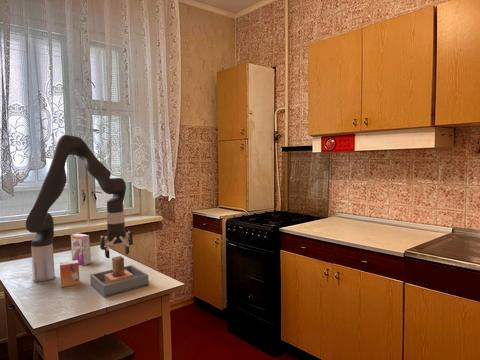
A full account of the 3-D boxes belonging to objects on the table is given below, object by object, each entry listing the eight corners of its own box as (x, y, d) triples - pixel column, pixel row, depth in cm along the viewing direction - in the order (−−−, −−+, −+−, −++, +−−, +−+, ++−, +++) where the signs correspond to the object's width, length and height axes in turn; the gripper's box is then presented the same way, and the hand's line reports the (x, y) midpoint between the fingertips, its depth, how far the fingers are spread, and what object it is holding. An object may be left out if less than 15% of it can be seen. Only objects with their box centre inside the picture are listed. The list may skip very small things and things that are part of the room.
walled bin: (104, 297, 146) (103, 286, 145) (90, 284, 161) (90, 274, 161) (148, 285, 158) (148, 274, 158) (132, 274, 174) (131, 264, 173)
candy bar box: (71, 263, 197) (70, 234, 196) (79, 260, 201) (78, 233, 200) (83, 265, 191) (81, 236, 190) (91, 263, 195) (89, 234, 194)
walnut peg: (116, 285, 157) (115, 259, 156) (113, 283, 160) (111, 257, 159) (125, 283, 159) (123, 257, 158) (121, 280, 162) (120, 255, 161)
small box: (60, 287, 159) (59, 265, 158) (60, 284, 164) (59, 262, 163) (80, 284, 162) (78, 262, 162) (79, 280, 167) (78, 259, 167)
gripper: (128, 218, 165) (129, 251, 166) (97, 222, 156) (99, 257, 157) (134, 220, 159) (135, 255, 160) (102, 224, 150) (104, 261, 151)
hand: (117, 256), depth 158 cm, fingers open, 8 cm apart
